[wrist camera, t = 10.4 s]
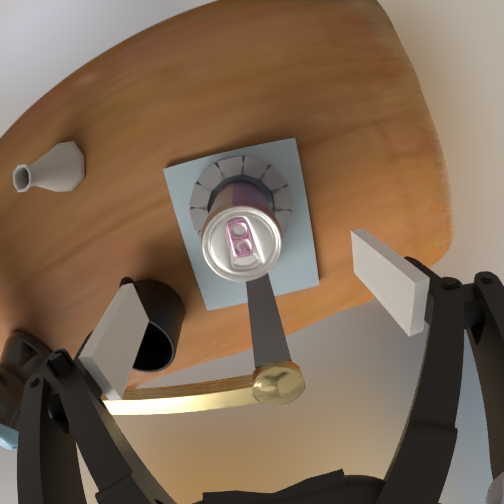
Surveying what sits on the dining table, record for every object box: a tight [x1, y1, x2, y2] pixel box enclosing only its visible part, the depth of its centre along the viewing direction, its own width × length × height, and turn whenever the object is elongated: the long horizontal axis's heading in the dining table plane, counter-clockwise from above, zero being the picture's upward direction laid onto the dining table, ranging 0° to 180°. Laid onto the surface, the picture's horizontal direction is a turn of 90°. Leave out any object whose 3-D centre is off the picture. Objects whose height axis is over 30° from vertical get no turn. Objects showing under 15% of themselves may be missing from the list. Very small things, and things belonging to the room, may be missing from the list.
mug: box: [119, 277, 184, 372], centre depth 35 cm, size 9×12×9 cm
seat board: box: [163, 138, 319, 369], centre depth 26 cm, size 16×20×20 cm
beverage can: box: [201, 180, 282, 282], centre depth 27 cm, size 6×6×15 cm
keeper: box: [101, 360, 305, 414], centre depth 18 cm, size 4×16×1 cm, turn 102°
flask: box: [13, 141, 85, 192], centre depth 26 cm, size 7×7×10 cm
